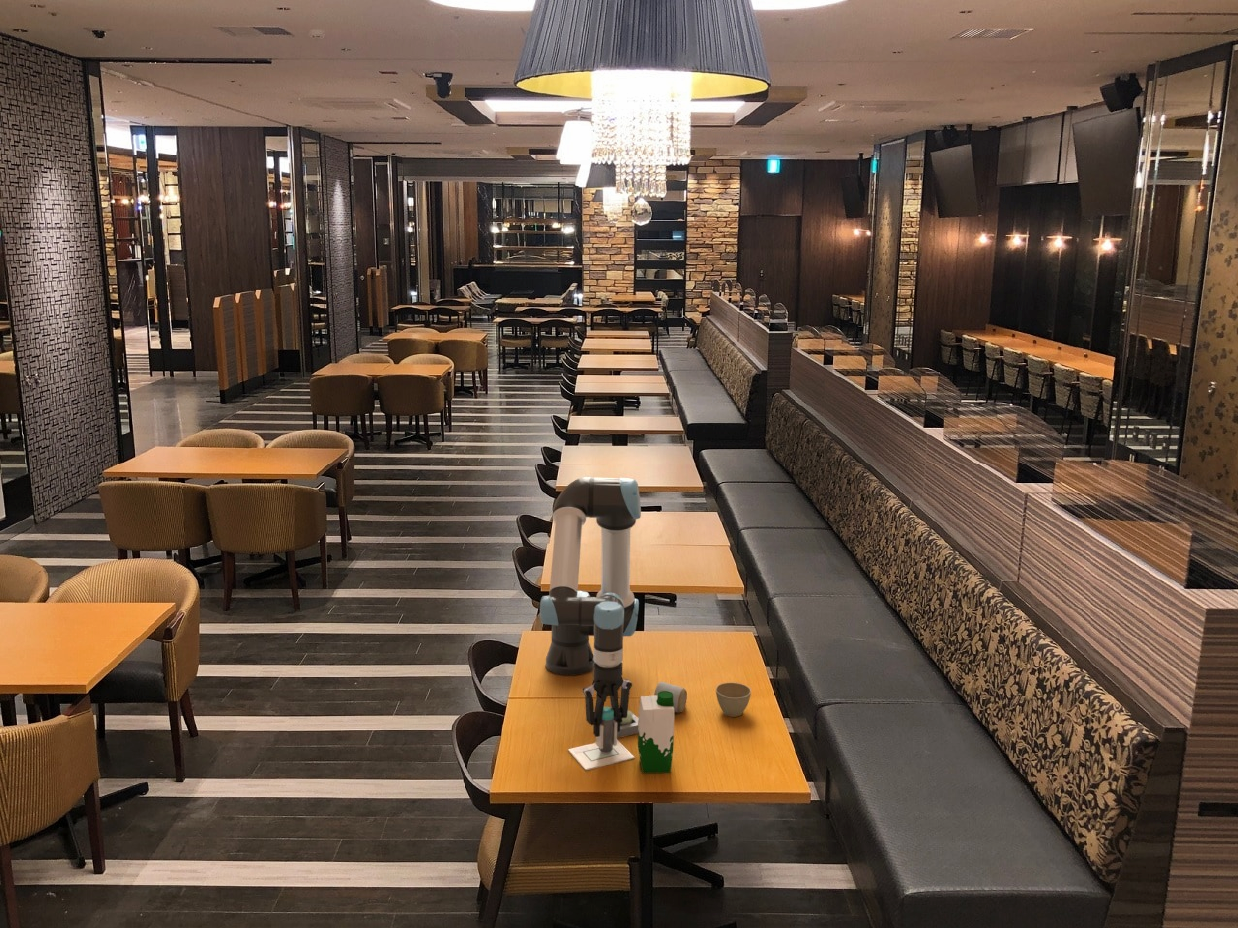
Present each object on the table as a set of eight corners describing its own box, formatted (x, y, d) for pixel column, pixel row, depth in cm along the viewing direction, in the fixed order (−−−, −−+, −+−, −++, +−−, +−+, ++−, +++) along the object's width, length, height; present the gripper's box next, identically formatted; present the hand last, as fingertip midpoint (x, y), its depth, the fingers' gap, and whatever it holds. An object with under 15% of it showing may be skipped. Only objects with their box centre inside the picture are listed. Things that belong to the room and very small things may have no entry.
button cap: (614, 721, 288) (614, 711, 287) (627, 718, 290) (627, 708, 289) (621, 727, 285) (621, 717, 284) (634, 724, 286) (634, 714, 286)
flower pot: (754, 709, 300) (755, 686, 298) (743, 724, 291) (744, 700, 289) (721, 701, 304) (722, 679, 302) (709, 716, 295) (710, 693, 293)
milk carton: (674, 774, 265) (677, 702, 260) (639, 775, 264) (641, 703, 259) (670, 756, 273) (672, 686, 268) (635, 757, 272) (637, 687, 268)
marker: (602, 756, 272) (603, 714, 269) (596, 750, 275) (597, 708, 272) (615, 753, 273) (616, 711, 271) (608, 746, 277) (609, 705, 274)
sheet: (568, 750, 275) (568, 748, 275) (615, 739, 282) (615, 737, 281) (585, 770, 266) (585, 768, 266) (634, 758, 272) (634, 756, 272)
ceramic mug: (679, 717, 294) (680, 692, 292) (652, 712, 297) (653, 687, 295) (690, 702, 304) (692, 677, 302) (664, 697, 306) (665, 673, 305)
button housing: (604, 724, 289) (605, 716, 289) (630, 718, 293) (630, 711, 292) (617, 737, 282) (618, 729, 282) (644, 731, 286) (644, 723, 285)
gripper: (585, 673, 261) (583, 757, 267) (643, 662, 268) (640, 744, 274) (572, 661, 268) (571, 744, 273) (629, 650, 275) (627, 731, 281)
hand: (606, 744), depth 274 cm, fingers closed on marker, 3 cm apart
